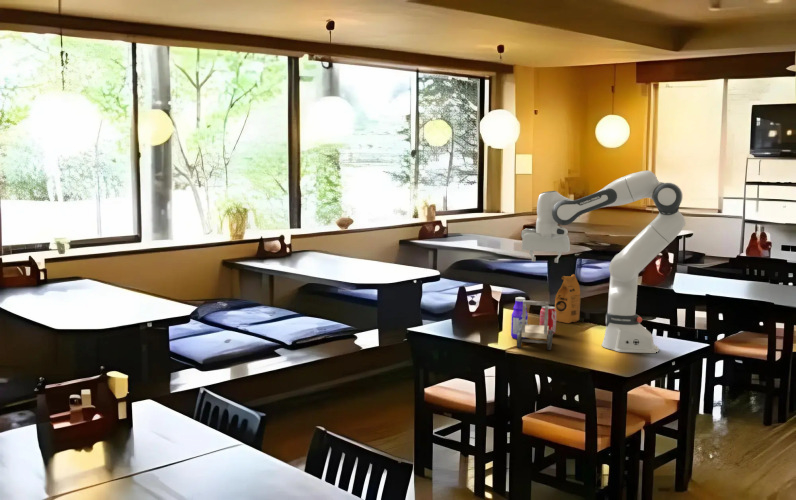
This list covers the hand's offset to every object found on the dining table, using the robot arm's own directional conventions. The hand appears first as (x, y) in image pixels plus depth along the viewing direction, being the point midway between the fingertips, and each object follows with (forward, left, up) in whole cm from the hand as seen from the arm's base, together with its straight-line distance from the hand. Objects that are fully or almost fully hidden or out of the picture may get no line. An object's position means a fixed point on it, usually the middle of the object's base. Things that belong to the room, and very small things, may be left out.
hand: (544, 262), depth 333 cm
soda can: (-2, -11, -33) cm, 35 cm away
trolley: (+2, +14, -33) cm, 36 cm away
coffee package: (-10, -44, -33) cm, 56 cm away
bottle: (+9, +1, -33) cm, 35 cm away
